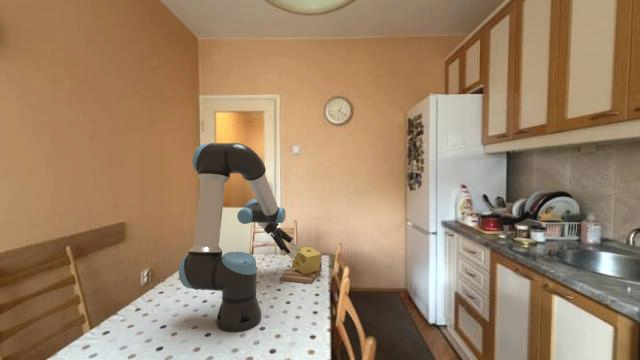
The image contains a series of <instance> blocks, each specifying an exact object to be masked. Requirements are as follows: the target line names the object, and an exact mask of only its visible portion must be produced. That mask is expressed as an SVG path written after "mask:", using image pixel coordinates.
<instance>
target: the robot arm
mask: <svg viewBox="0 0 640 360" xmlns="http://www.w3.org/2000/svg"><path fill="white" fill-rule="evenodd" d="M192 166H193V169H194V171H195V172H196V173H197V178H199V179H200V181H201V182H200V190H199V199H198V208H197V215H196V216H197V217H196V225H195V233H194V241H193V242H194V243H193V245H192V247H191V248H189V249H188V253H187V254H186V255H185V256H183V258H182V259H181V262H180V263H179V267H178V276H179V277H178V278H179V281H180V283H181V284H182V285H183V286H184V287H185V288H188V289H192V290H195V291H198V290H202V291H203V290H205V291H216V292H217V291H218V292H221V294H222V295H221V304H220V307H219V309H218V312H217V314H216V326H217V327H218V328H219V329H220V330H222V331H226V332H232V333H233V332H241V331H242V332H243V331H247V330H249V329H252V328H254V327H256V326H257V325H259V324H260V322H261V321H262V310H261V306H260V305H259V304H260V303H259V301H258V299H257V272H258V271H257V270H258V269H257V268H258V267H257V259H256V258H255V257H254V255H252V254H250V253H248V252H243V251H228V252H225V253H224V254H223V250H222V248H221V247H220V246H219V245H220V239H221V238H220V237H221V228H222V227H221V226H222V218H223V217H222V216H223V207H224V199H225V198H224V197H225V188H226V183H227V182H228V181H229V180H230V179H231V174H239V175H241V176H242V178H243V179H244V180H246V181H247V182H248V185H249V187H250V189H251V190H252V192H253V195H254V196H255V198H252V199H251V200H249V201H248V202H246V203H245V205H244V206H243V208H241V209H240V210H239V211H238V212H237V220H238V222H239V223H240V224H243V225H247V224H248V225H249V224H250V223H257V224H258V226H259V227H261V228H262V229H263V231H264V232H265V233H266V234H267V235H269V236H270V237H271V238H272V240H273V241H274V243H276V245H277V246H278V248H279V250H280V251H281V252H282V251H284V252H285V253H286V255H288V257H289V258H290V259H291V260H293V259H294V257H295V256H296V254H295V253H297V252H298V251H299V249H300V246H299V245H297V243H296V241H294V238H293V237H292V236H290V235H289V234H288V233H287V232H285V231H284V230H283V229H282V228H281V227H278V226H279V224H283V223H284V222H285V220H286V214H287V213H286V209H285V208H284V207H280V206H278V203H277V201H276V198H275V196H274V193H273V191H272V188H271V186H270V183H269V181H268V178H267V176H266V166H265V164H264V161H263V160H262V158H261V157H260V156H259V155H258V154H257V152H256V151H254V150H253V149H252V148H251V147H249V146H248V145H245V144H243V143H240V142H233V143H232V142H229V143H228V142H227V143H226V142H218V143H217V142H216V143H215V142H210V143H203V144H200V145H199V146H197V147H196V148H195V151H194V152H193V155H192ZM285 242H287V243H288V245H289V246H290V247H291V248H292V249H293V250H294V251H295V252H294V251H293V250H292V249H291V248H290V247H289V246H288V245H286V243H285Z"/></svg>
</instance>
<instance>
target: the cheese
mask: <svg viewBox="0 0 640 360" xmlns="http://www.w3.org/2000/svg"><path fill="white" fill-rule="evenodd" d="M299 248H300V247H299ZM294 253H295V254H296V256H295V257H294V258H293V259H294V260H293V259H292V260H293V262H292V263H291V267H292V266H293V267H294V268H296V269H297V270H298V271H300V272H301V273H302V274H303V275H306V274H309V273H312V272H315V271H318V270H319V267H320V264H321V261H322V253H321V252H320V251H318V250H316V249H315V248H313V247H312V246H310V245H309V246H303V247H301V248H300V249H299V251H298V252H294Z"/></svg>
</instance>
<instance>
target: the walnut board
mask: <svg viewBox="0 0 640 360" xmlns="http://www.w3.org/2000/svg"><path fill="white" fill-rule="evenodd" d="M291 260H292V262H293V260H294V258H293V259H291ZM322 266H323V265H322V260H321V264H320V267H319V270H318V271H315V272H312V273H309V274H306V275H303V274H302V273H301V272H300V271H298V270H297V269H296V268H294V267H293V266H292V265H291V266H290V267H289V268H288V269H287V270H285V272H283V274H281V275H280V277H279V281H280V282H289V283H298V284H309V285H311V284H313V283H314V281H315V280H316V279H317V277H318V276H319V274H321V272H322V270H323V269H322V268H323V267H322Z"/></svg>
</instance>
